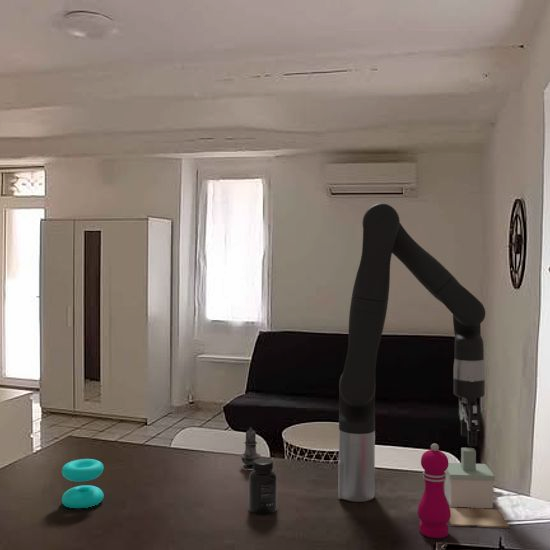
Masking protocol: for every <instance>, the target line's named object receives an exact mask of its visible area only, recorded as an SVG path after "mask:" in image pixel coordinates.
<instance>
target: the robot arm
mask: <svg viewBox="0 0 550 550" xmlns="http://www.w3.org/2000/svg"><path fill="white" fill-rule="evenodd" d="M400 221H401V219H400V216H399V213H398V212H397V210H396V209H395V207H392V205H390V204H388V203H376V204H373V205H372V206H371V207H369V208H368V209H367V210H366V211H365V212H364V214H363V218H362V247H361V249H362V250H361V257H360V262H359V265H358V269H357V272H356V275H355V279H354V283H353V288H352V294H351V299H350V308H349V314H348V345H347V346H348V347H347V353H346V359H345V364H344V368H343V372H342V374H341V375H340V378H339V381H338V382H339V383H338V389H339V391H338V392H339V399H338V400H339V401H338V402H339V403H338V406H339V407H338V408H339V409H338V410H339V411H338V461H337V462H338V473H337V475H338V477H337V478H338V481H337V482H338V483H337V484H338V486H337V490H338V491H337V492H338V499H339V500H344V501H345V500H346V501H349V502H355V503H357V502H359V503H360V502H362V503H363V502H368V501H371V500H373V499H374V498H375V478H376V477H375V467H376V465H375V463H376V461H375V460H376V459H375V458H376V457H375V456H376V454H375V453H376V451H375V449H376V406H375V405H376V368H377V367H376V366H377V357H378V351H379V347H380V343H381V339H382V335H383V331H384V327H385V322H386V318H387V311H388V304H389V293H390V281H391V279H390V278H391V260H392V255H393V256H395V258H397V259H398V260H399V261H400V262H401V263H402V264H403V265H404V266H405V268H406V269H408V271H409V272H410V273H411V274H412V275H413V276H414V277H415V278H416V280H417V281H418V282H419V283H420V284H421V285H422V286H423V287H424V288H425V289H426V290H427V291H428V292H429V293H430V294H431V295H432V296H433V297H434V298H435V299H436V300H438V301H439V302H440V303H442V304H443V305H444V306H445V308H447V309H448V310H449V312H450V313H451V314H452V322H453V323H452V325H453V330H454V332H453V333H454V359H453V361H454V362H453V395H455V396H456V397H458V418H459V421H460V435H461V436H462V437H464V438H465V437H467V445H468V446H469V447H477V446H478V445H479V443H478V439H479V438H478V436H479V433H478V432H479V431H481V430H482V429H481V428H482V427H481V405H480V404H477V399H478V398H479V399H480V398H483V397H484V396H485V394H486V393H485V390H486V389H485V382H486V381H485V380H486V379H485V377H486V374H485V371H486V370H485V362H484V356H485V355H484V353H485V352H484V340H483V337H482V334H481V332H482V331H481V324H482V323H483V322H484V320H485V319H486V318H485V317H486V309H485V307H484V305H483V303H482V302H481V301H480V300H479V299H478V298H477V297H476V296H475V295H473V294H472V293H471V292H470V291H469V290H468V289H467V288H466V287H464V286H463V285H462V284H461V283H460V282H459V281H458V280H457V278H456V277H455V276H454V275H453V274H452V273H451V272H450V271H449V270H448V269H447V268H446V267H445V266H444V265H443V264H442V263H441V262H440V261H438V259H436V257H435V256H433V255H432V254H430V253H429V252H428V251H427V250H425V248H423V247H422V246H420V244H419V243H418V242H417V241H415V240H414V238H412V237H411V235H410V234H409V233H408V232H407V231H406V229H405V228H404V227H403V225H402V223H401V222H400ZM473 423H474V424H473Z"/></svg>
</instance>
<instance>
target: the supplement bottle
mask: <svg viewBox="0 0 550 550" xmlns="http://www.w3.org/2000/svg"><path fill="white" fill-rule="evenodd" d="M277 508H278V475H277V473H276V472H275V470H274V461H273V460H272V459H270V458H261V457H260V458H259V459H256V460H254V461H253V471H251V472H250V474H249V475H248V509H249V512H250V513H251V512H252V514H253V513H254V515H257V516H258V515H259V516H267V515H268V514H269V515H271V514H274V513H276V512H277ZM269 515H268V516H269Z"/></svg>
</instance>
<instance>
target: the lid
mask: <svg viewBox="0 0 550 550" xmlns="http://www.w3.org/2000/svg"><path fill="white" fill-rule="evenodd" d="M460 455H461V456H460V462H448V468H447V469H446V470H445V471H446V472H447V474H448V476H449V478H450V479H451V480H481V481H493V482H495V478H496V477H495V475H494V473H493V472H492V471H491V470H490V468H489V467H488V465H487V464H485V463H477V450H476V449H475V448H473V447H461V448H460Z"/></svg>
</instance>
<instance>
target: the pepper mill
mask: <svg viewBox="0 0 550 550" xmlns="http://www.w3.org/2000/svg"><path fill="white" fill-rule="evenodd" d="M439 449H440V446H439V444H437V443H432V444H431V445H430V449H428V450H426V451H424V452H423V454H422V455H421V458H420V465H421V467H422V469H423V471H422V474H423V475H422V478H423V479H424V491H423V494H422V497H421V499H420V501H419V503H418V506H417V516H418V518H419V520H420V522H419V533H421V535H423V536H426V537H428V538H431V539H432V538H434V539H442V538H445V537H447V536H449V524H447V523H448V522H449V520H450V518H451V512H450V508H451V506H450V504H449V502H448V500H447V498H446V496H445V480H446V473H445V470H446V469H447V468H448V463H449V458H448V456H447V455H446V454H445V452H443V451H441V450H439Z"/></svg>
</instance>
